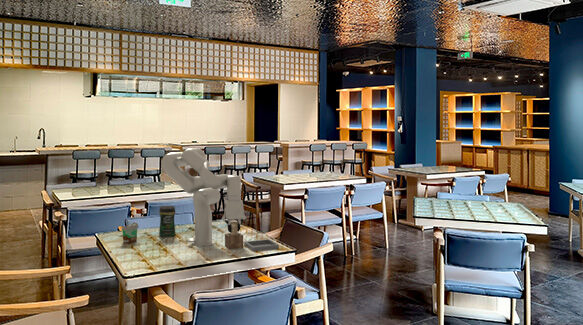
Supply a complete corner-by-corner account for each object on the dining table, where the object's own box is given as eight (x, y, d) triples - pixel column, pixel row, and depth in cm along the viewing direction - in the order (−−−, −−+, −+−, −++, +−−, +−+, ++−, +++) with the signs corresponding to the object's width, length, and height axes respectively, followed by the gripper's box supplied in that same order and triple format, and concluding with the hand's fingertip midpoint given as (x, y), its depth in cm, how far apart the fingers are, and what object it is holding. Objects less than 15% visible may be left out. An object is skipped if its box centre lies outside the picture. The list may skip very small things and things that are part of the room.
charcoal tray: (252, 252, 249) (252, 247, 248) (244, 246, 261) (244, 241, 261) (278, 250, 255) (278, 244, 254) (269, 244, 267) (269, 239, 267)
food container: (131, 244, 266) (131, 226, 265) (121, 243, 267) (121, 226, 266) (142, 239, 278) (142, 222, 277) (133, 238, 279) (133, 222, 278)
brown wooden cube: (229, 251, 252) (229, 236, 251) (224, 247, 259) (224, 233, 258) (243, 249, 255) (243, 235, 254) (238, 246, 262) (238, 232, 262)
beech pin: (231, 248, 254) (231, 222, 253) (229, 246, 258) (229, 221, 257) (238, 247, 256) (238, 222, 255) (236, 245, 259) (236, 220, 258)
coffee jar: (159, 237, 282) (158, 207, 281) (159, 234, 290) (158, 205, 288) (175, 236, 285) (175, 206, 283) (175, 234, 292) (175, 204, 291)
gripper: (220, 200, 248) (220, 234, 249) (250, 198, 255) (250, 231, 256) (217, 198, 255) (217, 231, 256) (246, 196, 262) (246, 228, 263)
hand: (233, 231), depth 256 cm, fingers closed on beech pin, 4 cm apart
